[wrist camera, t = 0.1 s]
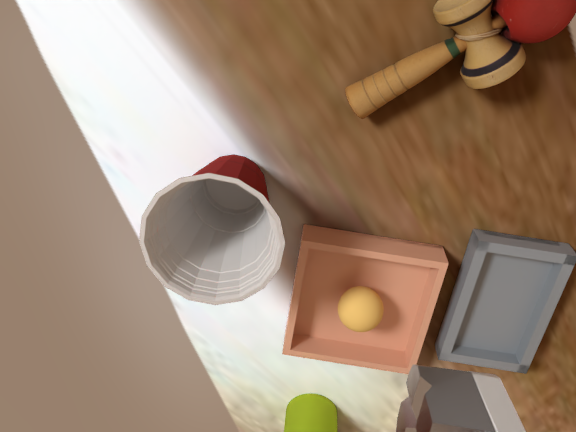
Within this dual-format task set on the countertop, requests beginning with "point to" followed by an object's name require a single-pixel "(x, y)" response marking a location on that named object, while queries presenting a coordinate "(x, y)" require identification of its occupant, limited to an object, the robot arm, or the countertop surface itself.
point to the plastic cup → (214, 233)
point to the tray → (503, 300)
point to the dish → (370, 273)
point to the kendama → (469, 47)
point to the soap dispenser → (311, 414)
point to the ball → (360, 309)
